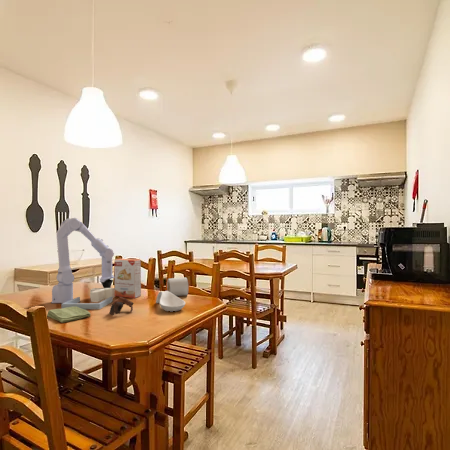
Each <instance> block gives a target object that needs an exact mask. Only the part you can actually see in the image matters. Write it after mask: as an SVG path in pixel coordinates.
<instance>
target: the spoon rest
mask: <svg viewBox="0 0 450 450" xmlns="http://www.w3.org/2000/svg"><path fill="white" fill-rule="evenodd" d="M155 303H156V304H159V306H160V308H161V309H162V310H164V311H165V312H168V311H170V313H171V312H172V313H173V311H175V312H178V311H180V310H182V309H183V308H184V307H185V305H186V301H185V300H183V299H182V298H180V296H175V295H174V294H172V293H171V292H169V291H167V290H165V291H162V290H161V291H159V292H158V294H157V296H156V300H155Z"/></svg>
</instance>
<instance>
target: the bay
mask: <svg viewBox="0 0 450 450" xmlns="http://www.w3.org/2000/svg"><path fill="white" fill-rule="evenodd" d="M113 299H114V298H113V297H109V298H107V299H103V300H101V301H99V302H89V303H83V302H81V297H80V296H77V297H73V299H72V300H70V301H67V302H65V303H61V309H62V308H67V307H75V306H76V307H79V308H81V309H84V310H101V309H103V308H104V307H106V306H108V305H109V304H111V303H113V302H114V301H113Z"/></svg>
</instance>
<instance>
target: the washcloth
mask: <svg viewBox="0 0 450 450" xmlns="http://www.w3.org/2000/svg"><path fill="white" fill-rule="evenodd" d="M46 316H47V317H48V318H50V319H52V320H55V321H58V322H60V323H61V324H64V323H69V322H73V321H77V320H80V319H85V318H89V317H91V312H90V311H89V310H88V309H81V308H79V307H76V306H75V307H67V308H62V307H61V308H53V309H49V310H48V311H47V315H46Z"/></svg>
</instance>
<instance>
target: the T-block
mask: <svg viewBox="0 0 450 450" xmlns="http://www.w3.org/2000/svg"><path fill="white" fill-rule="evenodd" d="M89 293H90V295H89V297H90V303H100V302H102V301H104V300H105V299H107V298H109V297H113V299H114V298H115V297H116V296H115V287H110V288H103V287H95V288H94V287H93V288H91V289H90V291H89Z"/></svg>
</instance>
